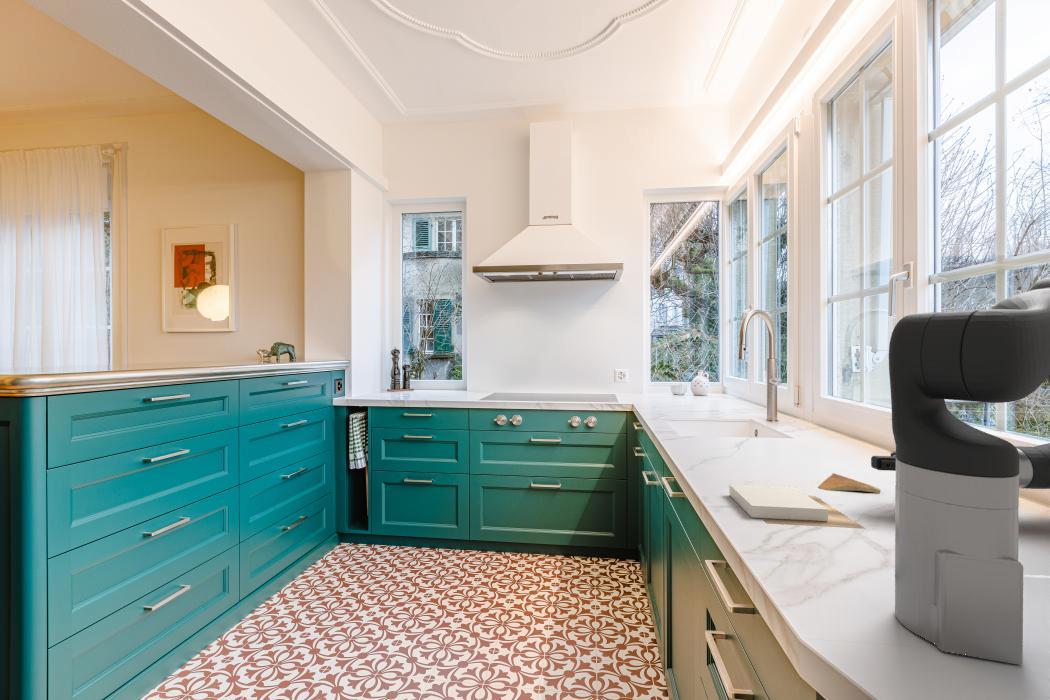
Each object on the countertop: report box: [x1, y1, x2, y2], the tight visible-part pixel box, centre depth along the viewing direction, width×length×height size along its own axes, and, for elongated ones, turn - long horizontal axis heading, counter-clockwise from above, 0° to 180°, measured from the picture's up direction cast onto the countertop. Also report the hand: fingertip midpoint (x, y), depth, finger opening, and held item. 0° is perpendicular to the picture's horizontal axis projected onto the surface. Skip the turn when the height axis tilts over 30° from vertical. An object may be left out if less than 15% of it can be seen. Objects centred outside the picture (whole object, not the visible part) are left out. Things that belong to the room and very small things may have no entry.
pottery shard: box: [817, 472, 881, 494], centre depth 94 cm, size 10×9×2 cm
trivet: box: [761, 495, 865, 529], centre depth 81 cm, size 16×15×1 cm
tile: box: [729, 484, 828, 521], centre depth 82 cm, size 12×2×12 cm
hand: (874, 462), depth 79 cm, fingers closed
